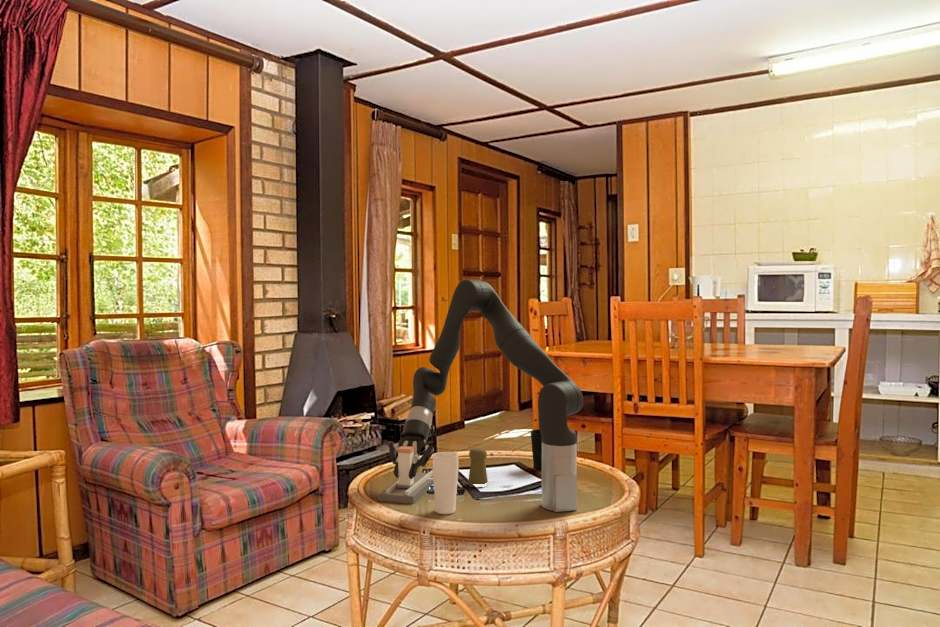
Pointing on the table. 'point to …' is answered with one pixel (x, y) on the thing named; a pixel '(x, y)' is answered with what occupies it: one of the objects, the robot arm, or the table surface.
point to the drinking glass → (445, 481)
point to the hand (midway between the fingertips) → (403, 476)
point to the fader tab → (405, 466)
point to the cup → (537, 449)
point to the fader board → (408, 490)
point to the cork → (478, 466)
